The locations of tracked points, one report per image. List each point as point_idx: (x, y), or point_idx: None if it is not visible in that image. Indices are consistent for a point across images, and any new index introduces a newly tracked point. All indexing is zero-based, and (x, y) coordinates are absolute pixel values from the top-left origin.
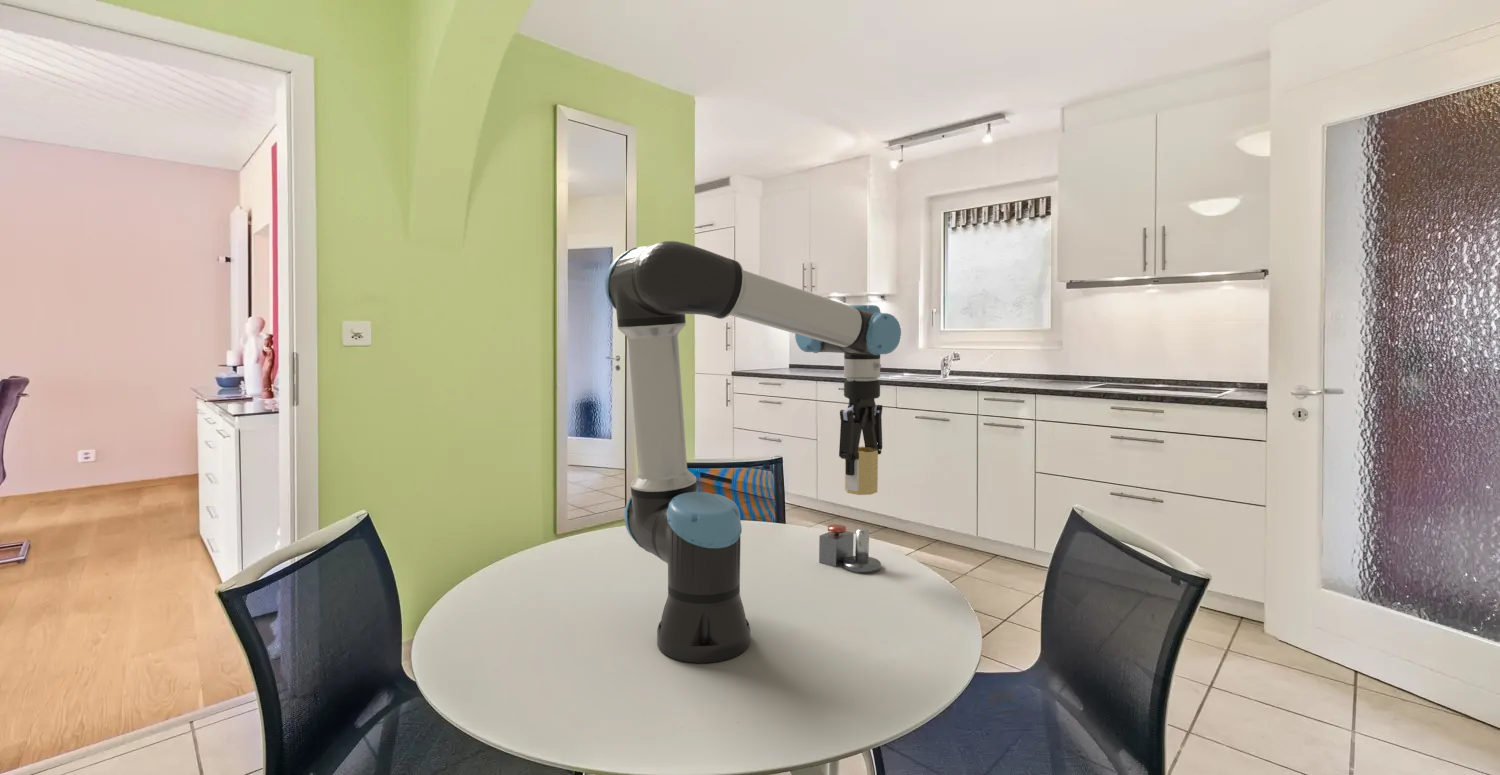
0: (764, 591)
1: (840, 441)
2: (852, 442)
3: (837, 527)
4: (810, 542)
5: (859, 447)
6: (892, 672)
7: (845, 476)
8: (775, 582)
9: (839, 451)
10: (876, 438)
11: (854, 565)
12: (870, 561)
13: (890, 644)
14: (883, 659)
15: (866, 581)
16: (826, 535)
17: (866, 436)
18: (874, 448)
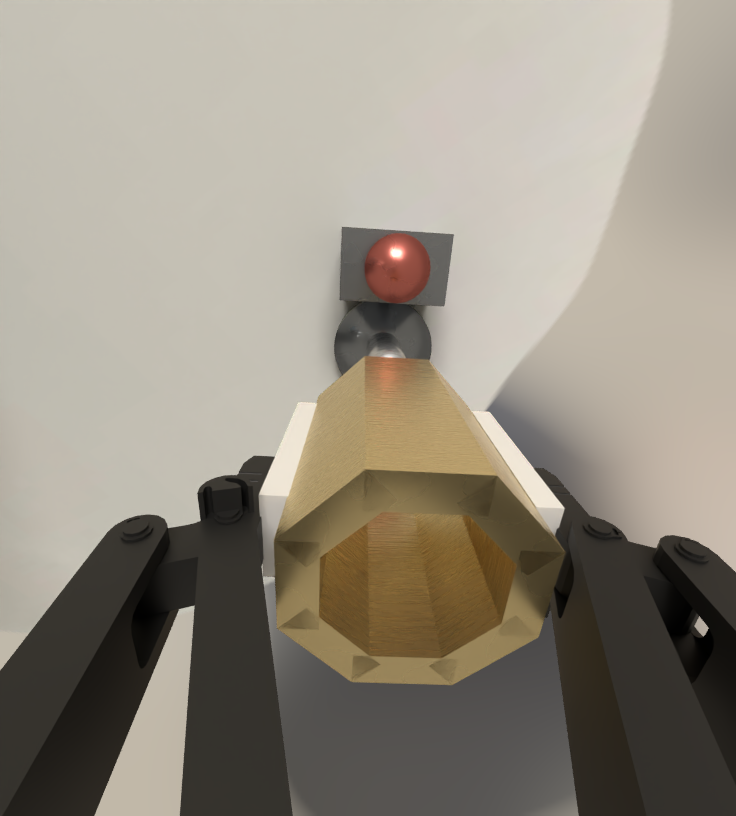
0: (63, 234)
1: (19, 657)
2: (118, 736)
3: (392, 274)
4: (505, 85)
5: (501, 543)
6: (22, 576)
7: (354, 387)
8: (132, 219)
9: (91, 555)
10: (698, 687)
11: (345, 347)
12: None
13: (90, 544)
14: (41, 555)
15: (304, 397)
16: (358, 247)
17: (595, 692)
18: (514, 645)
